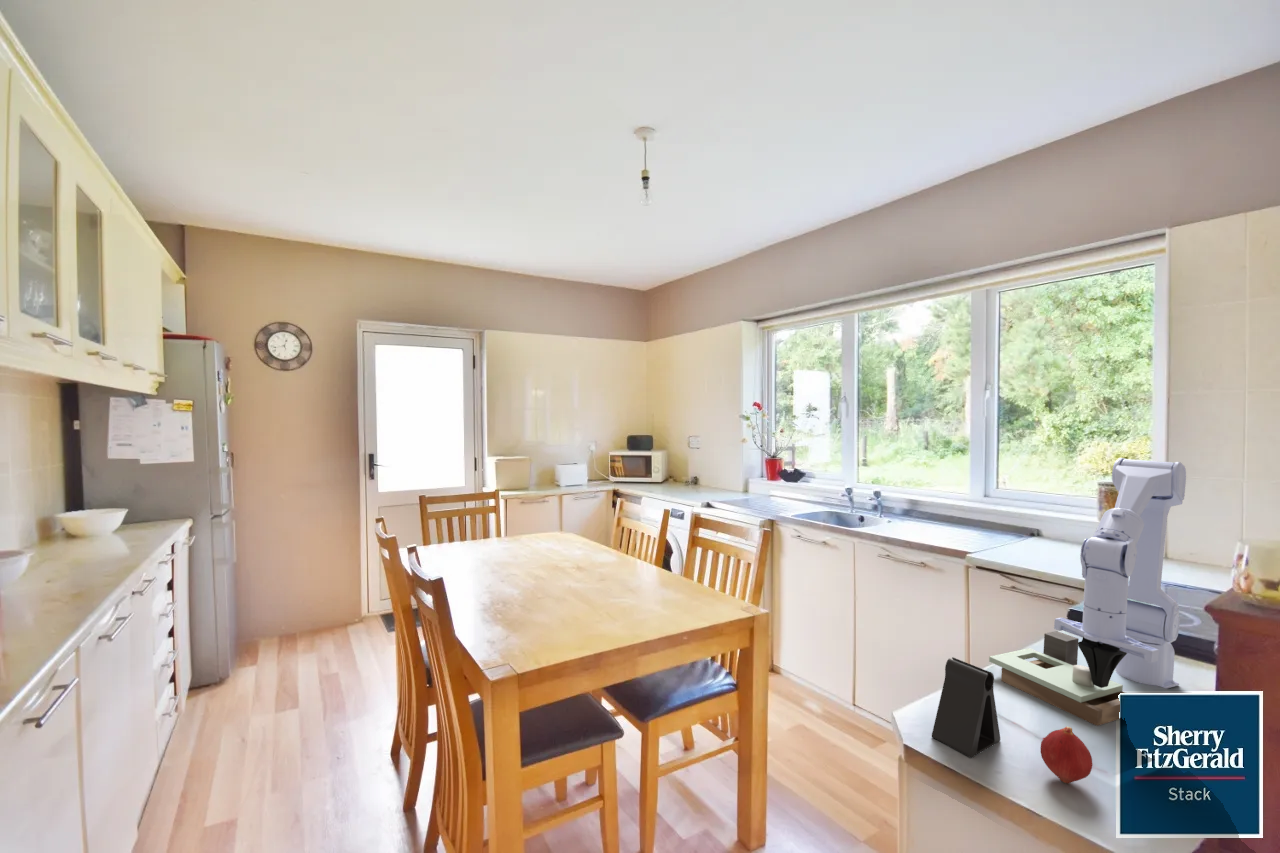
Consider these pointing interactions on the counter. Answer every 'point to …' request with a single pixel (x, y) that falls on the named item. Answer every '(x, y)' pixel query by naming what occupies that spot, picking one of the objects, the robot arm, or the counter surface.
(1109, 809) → the counter surface
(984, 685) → the phone stand
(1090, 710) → the brown box
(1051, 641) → the block
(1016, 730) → the counter surface
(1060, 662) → the lid
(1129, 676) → the robot arm
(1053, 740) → the onion
